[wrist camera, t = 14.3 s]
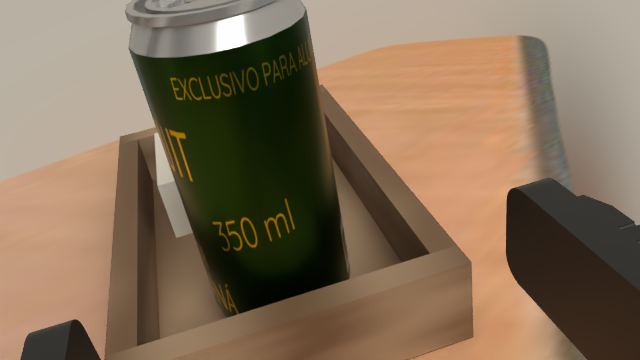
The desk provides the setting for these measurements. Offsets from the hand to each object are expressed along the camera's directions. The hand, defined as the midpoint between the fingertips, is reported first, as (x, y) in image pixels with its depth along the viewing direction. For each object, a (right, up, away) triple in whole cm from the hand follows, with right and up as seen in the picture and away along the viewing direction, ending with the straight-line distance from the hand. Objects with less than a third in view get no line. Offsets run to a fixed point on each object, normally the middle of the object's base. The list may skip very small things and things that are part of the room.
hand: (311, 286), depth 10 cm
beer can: (-1, -3, +12) cm, 13 cm away
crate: (-2, -1, +17) cm, 17 cm away
